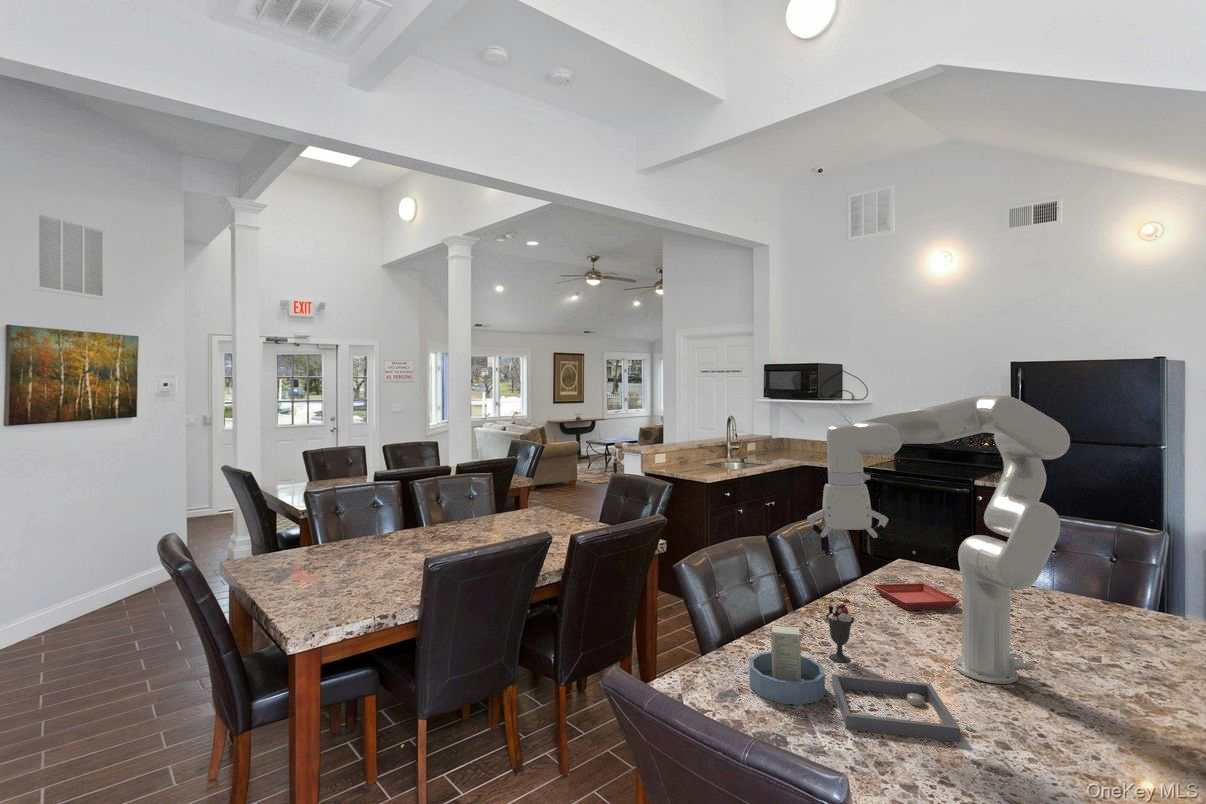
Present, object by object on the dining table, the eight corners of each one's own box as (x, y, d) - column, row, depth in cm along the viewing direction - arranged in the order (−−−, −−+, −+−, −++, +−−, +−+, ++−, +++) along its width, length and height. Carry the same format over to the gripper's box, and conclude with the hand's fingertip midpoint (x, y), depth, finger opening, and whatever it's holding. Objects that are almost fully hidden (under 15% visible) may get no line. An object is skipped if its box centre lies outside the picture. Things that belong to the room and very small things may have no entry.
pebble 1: (871, 719, 121) (871, 712, 121) (875, 728, 118) (875, 721, 118) (854, 717, 121) (854, 710, 121) (857, 726, 118) (857, 719, 118)
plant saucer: (871, 593, 199) (871, 583, 199) (923, 592, 201) (923, 582, 201) (905, 613, 181) (905, 602, 181) (961, 611, 183) (961, 600, 183)
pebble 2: (921, 700, 128) (922, 694, 128) (925, 708, 125) (925, 701, 125) (905, 698, 129) (905, 692, 129) (908, 706, 126) (908, 699, 126)
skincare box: (800, 681, 135) (801, 627, 135) (801, 690, 131) (801, 634, 131) (771, 677, 137) (771, 624, 137) (770, 686, 132) (771, 631, 132)
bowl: (818, 674, 140) (818, 655, 140) (828, 708, 124) (828, 686, 124) (749, 667, 143) (749, 648, 143) (750, 700, 128) (750, 678, 128)
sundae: (857, 665, 144) (857, 603, 144) (827, 663, 146) (828, 601, 146) (851, 654, 151) (852, 594, 151) (823, 651, 152) (823, 592, 152)
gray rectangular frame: (930, 695, 130) (930, 683, 130) (960, 742, 113) (960, 728, 113) (831, 685, 134) (831, 674, 134) (846, 728, 117) (846, 715, 117)
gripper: (882, 476, 140) (884, 550, 140) (804, 477, 144) (806, 549, 144) (890, 481, 133) (893, 559, 133) (808, 481, 136) (810, 557, 137)
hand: (848, 553), depth 138 cm, fingers open, 9 cm apart
